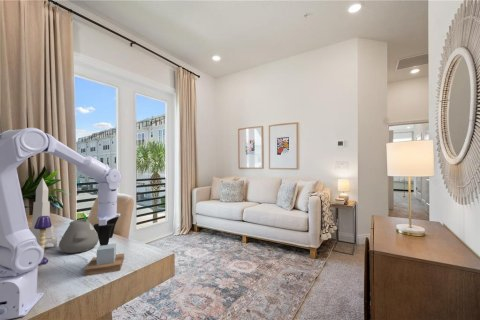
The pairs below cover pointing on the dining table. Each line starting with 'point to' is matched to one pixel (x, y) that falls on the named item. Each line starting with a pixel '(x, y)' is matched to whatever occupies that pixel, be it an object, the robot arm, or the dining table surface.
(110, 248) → the slate cube
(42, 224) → the toy lamp
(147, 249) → the dining table surface
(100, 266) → the walnut base
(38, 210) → the sculpture
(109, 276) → the dining table surface
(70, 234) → the toy
